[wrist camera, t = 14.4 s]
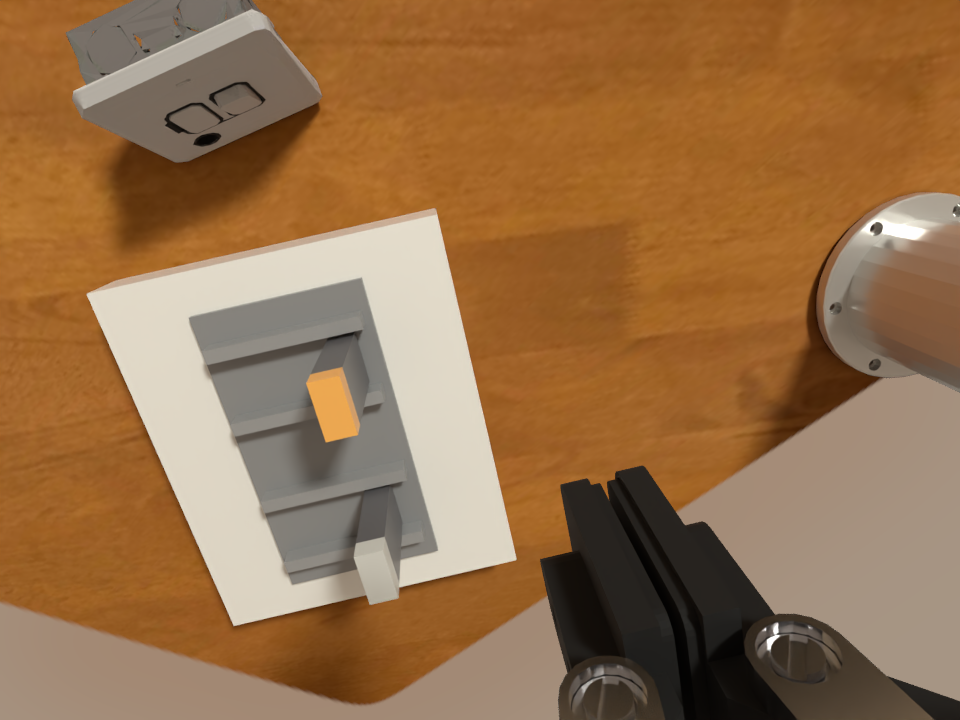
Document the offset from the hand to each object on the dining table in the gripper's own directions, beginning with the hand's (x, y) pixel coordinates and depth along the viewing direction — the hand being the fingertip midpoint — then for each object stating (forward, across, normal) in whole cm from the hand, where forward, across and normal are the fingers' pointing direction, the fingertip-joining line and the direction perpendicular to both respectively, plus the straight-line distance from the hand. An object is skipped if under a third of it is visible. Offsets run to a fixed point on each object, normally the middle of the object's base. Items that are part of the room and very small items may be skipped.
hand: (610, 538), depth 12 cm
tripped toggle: (+25, +9, +3) cm, 27 cm away
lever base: (+29, +12, +8) cm, 32 cm away
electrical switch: (+29, +12, -13) cm, 34 cm away
